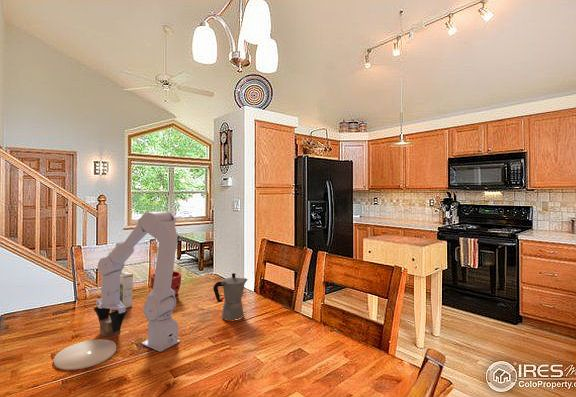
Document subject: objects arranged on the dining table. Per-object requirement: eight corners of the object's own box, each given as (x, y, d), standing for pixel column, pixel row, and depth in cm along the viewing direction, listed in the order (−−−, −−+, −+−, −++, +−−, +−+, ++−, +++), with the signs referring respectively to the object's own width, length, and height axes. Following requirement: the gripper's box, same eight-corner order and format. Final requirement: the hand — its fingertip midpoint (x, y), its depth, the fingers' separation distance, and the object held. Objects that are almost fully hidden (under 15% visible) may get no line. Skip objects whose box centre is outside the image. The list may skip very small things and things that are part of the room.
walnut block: (120, 332, 111) (120, 318, 111) (107, 337, 107) (107, 323, 107) (112, 329, 113) (113, 316, 113) (99, 334, 109) (100, 320, 109)
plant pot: (144, 302, 140) (144, 276, 140) (163, 293, 153) (164, 269, 152) (168, 306, 136) (168, 279, 136) (186, 297, 149) (187, 272, 148)
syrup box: (111, 307, 133) (112, 274, 133) (124, 303, 138) (125, 271, 138) (120, 310, 131) (120, 276, 130) (133, 305, 136) (133, 273, 135)
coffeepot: (240, 309, 135) (241, 268, 134) (252, 316, 127) (253, 273, 127) (207, 318, 125) (208, 273, 125) (218, 326, 118) (219, 279, 117)
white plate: (126, 351, 98) (126, 347, 98) (71, 376, 84) (71, 372, 84) (98, 337, 106) (98, 335, 106) (43, 359, 92) (43, 355, 92)
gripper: (87, 289, 110) (87, 327, 110) (111, 297, 102) (110, 338, 103) (107, 284, 116) (107, 320, 116) (131, 292, 108) (130, 330, 109)
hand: (110, 328), depth 110 cm, fingers open, 7 cm apart
